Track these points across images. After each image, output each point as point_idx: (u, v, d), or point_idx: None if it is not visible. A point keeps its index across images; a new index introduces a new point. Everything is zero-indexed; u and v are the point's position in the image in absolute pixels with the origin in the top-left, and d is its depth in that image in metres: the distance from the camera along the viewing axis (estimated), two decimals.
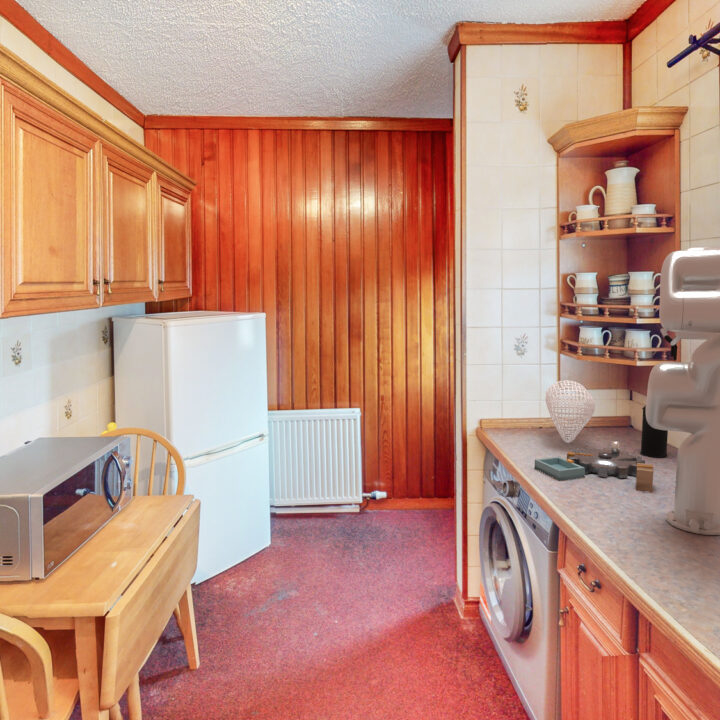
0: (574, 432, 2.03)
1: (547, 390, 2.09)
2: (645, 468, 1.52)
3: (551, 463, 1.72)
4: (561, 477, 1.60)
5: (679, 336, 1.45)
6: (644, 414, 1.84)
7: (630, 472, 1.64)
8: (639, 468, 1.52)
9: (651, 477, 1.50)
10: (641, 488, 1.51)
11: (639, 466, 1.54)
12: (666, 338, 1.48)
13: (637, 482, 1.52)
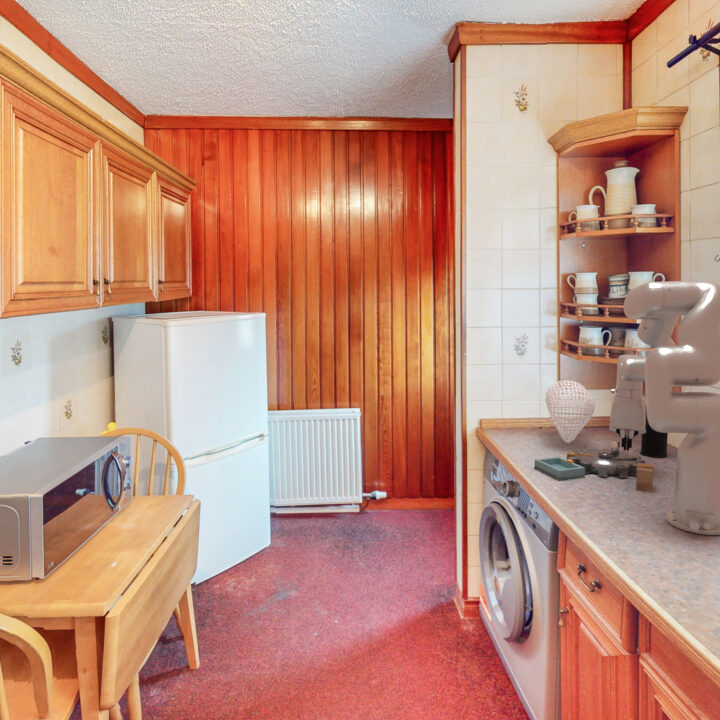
0: (574, 432, 2.03)
1: (547, 390, 2.09)
2: (645, 468, 1.52)
3: (551, 463, 1.72)
4: (561, 477, 1.60)
5: (612, 426, 1.74)
6: None
7: (630, 472, 1.64)
8: (639, 468, 1.52)
9: (651, 478, 1.50)
10: (641, 488, 1.51)
11: (639, 466, 1.54)
12: (617, 431, 1.75)
13: (637, 482, 1.52)
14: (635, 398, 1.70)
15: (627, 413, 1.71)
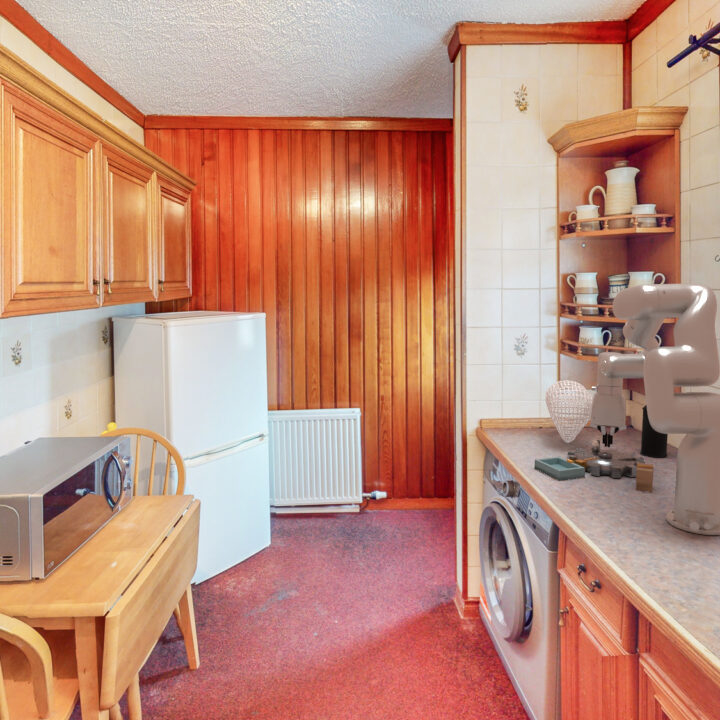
0: (574, 432, 2.03)
1: (547, 390, 2.09)
2: (645, 468, 1.52)
3: (551, 463, 1.72)
4: (561, 477, 1.60)
5: (593, 423, 1.76)
6: (644, 414, 1.84)
7: None
8: (639, 468, 1.52)
9: (651, 478, 1.50)
10: (641, 488, 1.51)
11: (639, 466, 1.54)
12: (598, 428, 1.77)
13: (637, 482, 1.52)
14: (615, 395, 1.72)
15: (607, 410, 1.74)
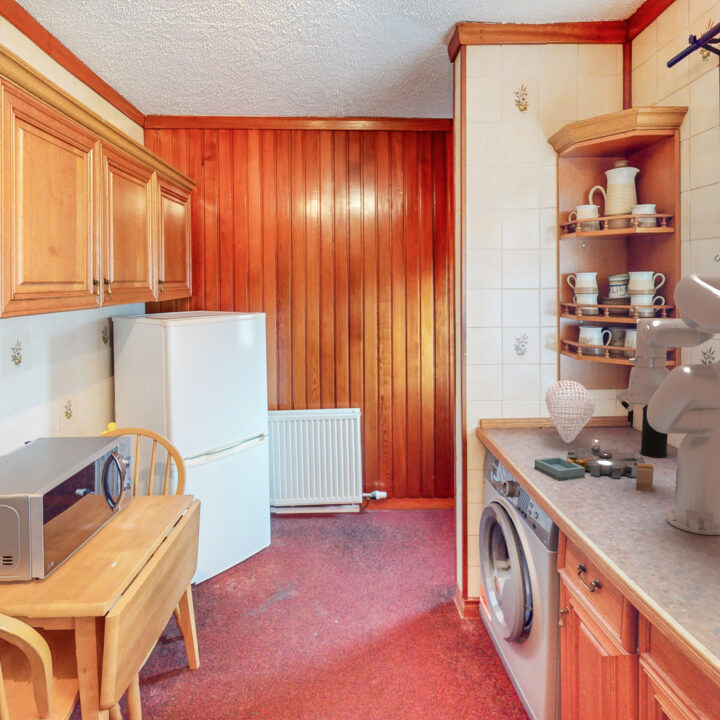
0: (574, 432, 2.03)
1: (547, 390, 2.09)
2: (645, 468, 1.52)
3: (551, 463, 1.72)
4: (561, 477, 1.60)
5: (631, 401, 1.51)
6: (644, 414, 1.84)
7: None
8: (639, 468, 1.52)
9: (651, 477, 1.50)
10: (641, 488, 1.51)
11: (639, 466, 1.54)
12: (623, 404, 1.53)
13: (637, 482, 1.52)
14: (658, 368, 1.47)
15: (648, 385, 1.48)
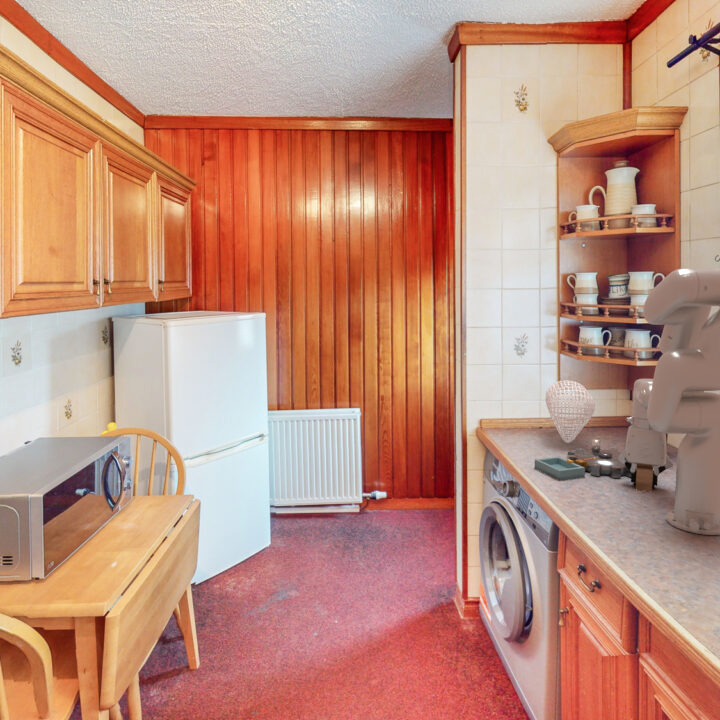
0: (574, 432, 2.03)
1: (547, 390, 2.09)
2: (645, 467, 1.52)
3: (551, 463, 1.72)
4: (561, 477, 1.60)
5: (628, 460, 1.53)
6: None
7: None
8: (639, 467, 1.53)
9: (651, 477, 1.50)
10: (641, 487, 1.52)
11: (639, 465, 1.54)
12: (626, 465, 1.55)
13: (637, 481, 1.52)
14: (655, 429, 1.49)
15: (645, 446, 1.50)
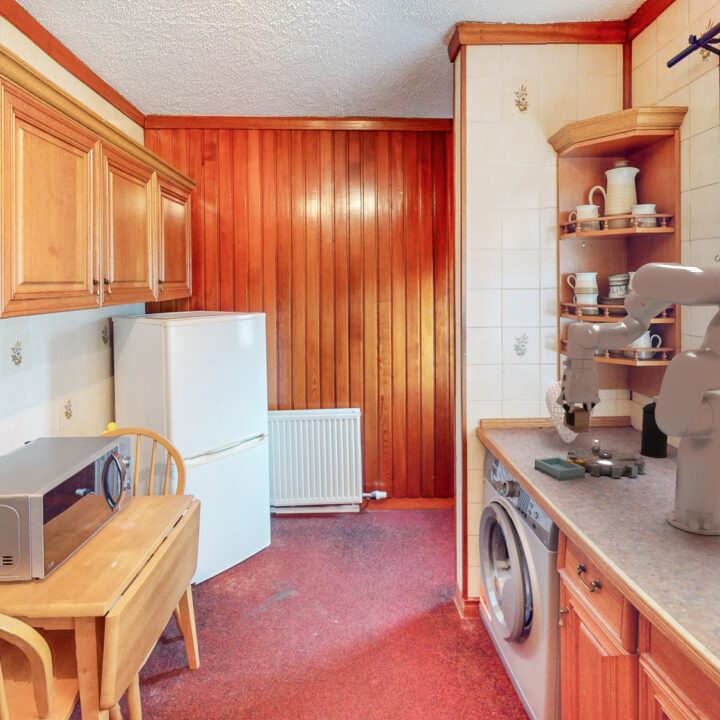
0: (574, 432, 2.03)
1: (547, 390, 2.09)
2: (580, 411, 1.61)
3: (551, 463, 1.72)
4: (561, 477, 1.60)
5: (570, 401, 1.59)
6: (644, 414, 1.84)
7: None
8: (577, 412, 1.60)
9: (588, 419, 1.60)
10: (580, 430, 1.60)
11: (574, 410, 1.62)
12: (565, 406, 1.61)
13: (577, 425, 1.60)
14: (592, 368, 1.58)
15: (584, 385, 1.59)
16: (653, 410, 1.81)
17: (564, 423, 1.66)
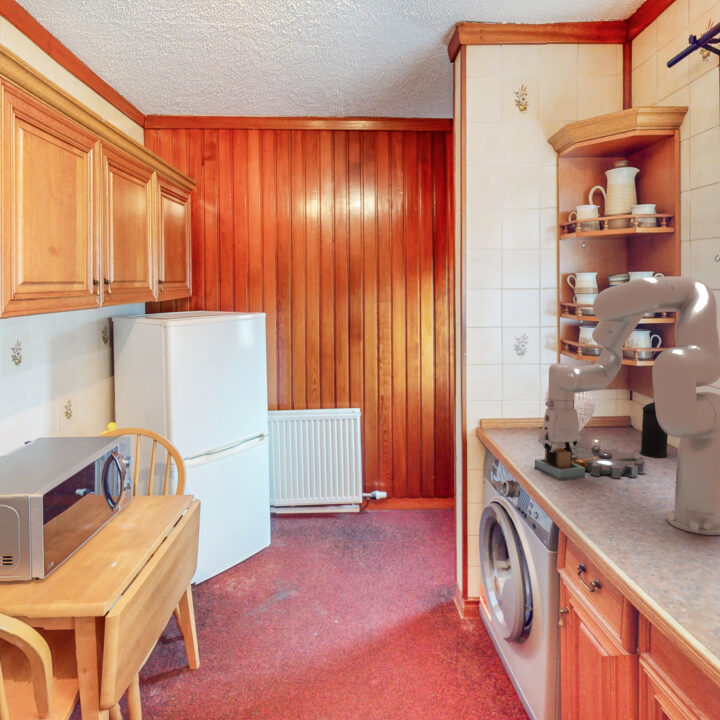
0: None
1: (547, 390, 2.09)
2: (561, 451, 1.66)
3: None
4: (561, 477, 1.60)
5: (554, 441, 1.62)
6: (644, 414, 1.84)
7: None
8: (558, 452, 1.65)
9: (569, 458, 1.65)
10: None
11: (555, 450, 1.66)
12: (547, 446, 1.64)
13: (560, 465, 1.64)
14: (573, 408, 1.62)
15: (566, 425, 1.63)
16: (653, 410, 1.81)
17: None
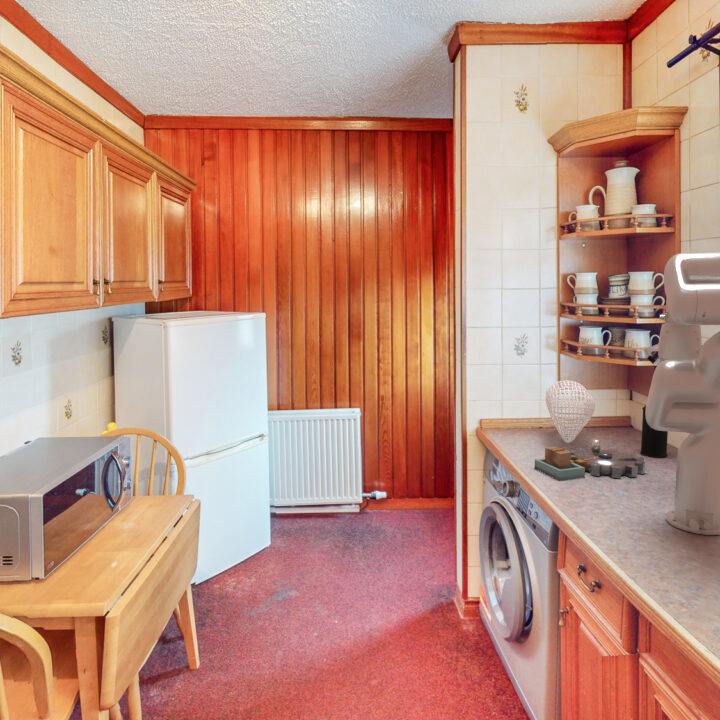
0: (574, 432, 2.03)
1: (547, 390, 2.09)
2: (561, 451, 1.66)
3: None
4: (561, 477, 1.60)
5: (662, 357, 1.51)
6: (644, 414, 1.84)
7: None
8: (558, 452, 1.65)
9: (569, 458, 1.65)
10: None
11: (555, 450, 1.66)
12: (649, 358, 1.54)
13: (560, 465, 1.64)
14: None
15: (679, 341, 1.48)
16: None
17: None
